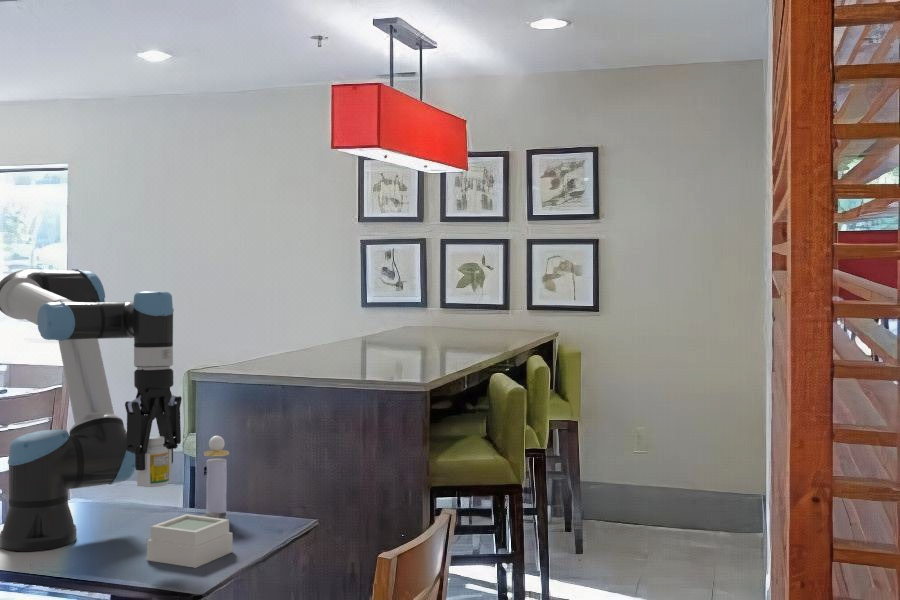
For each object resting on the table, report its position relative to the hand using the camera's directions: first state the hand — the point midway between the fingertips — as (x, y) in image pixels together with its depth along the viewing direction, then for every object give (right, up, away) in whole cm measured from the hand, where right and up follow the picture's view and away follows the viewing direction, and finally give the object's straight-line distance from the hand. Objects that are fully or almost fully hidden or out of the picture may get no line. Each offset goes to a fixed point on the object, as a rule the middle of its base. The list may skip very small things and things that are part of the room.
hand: (154, 483), depth 187 cm
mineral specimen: (+3, -16, +22) cm, 27 cm away
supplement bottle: (0, 0, 0) cm, 0 cm away
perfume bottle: (+4, -15, +32) cm, 36 cm away
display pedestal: (+6, -15, +3) cm, 17 cm away
